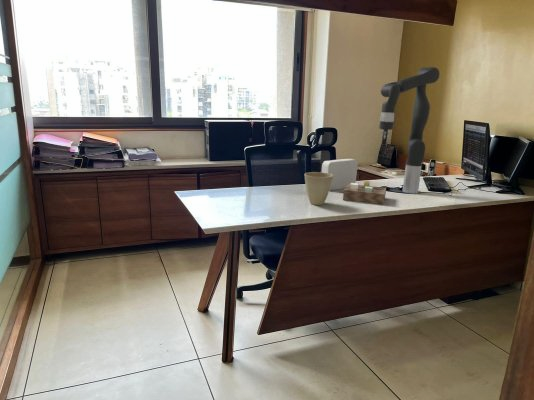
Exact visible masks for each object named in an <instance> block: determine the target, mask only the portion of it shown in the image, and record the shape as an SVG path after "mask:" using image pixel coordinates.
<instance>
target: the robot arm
mask: <svg viewBox="0 0 534 400" xmlns="http://www.w3.org/2000/svg"><path fill="white" fill-rule="evenodd" d="M439 77H440V70H439V69H438V68H437V67H435V66H429V67H421V68H420V69H419V70H418V71H417V74H416V75H412V76H407V77H404V78H402V79H399V80H396V81H393V82H388V83H385V84H384V85H382V87H381V88H380V95H382V97H384V98H388V99H387V100H386V101H383V103H382V105H381V113H380V116H379V117H380V120H379V126H378V127H379V129H380V130H383V132H381V152H386V151H387V145H388V141H389V136H390V132H389V130H394V124H395V123H394V122H395V111H396V105H397V102H398V99H399V97H400V94H401V93H405V92H407V91H410V90H412V89H415V99H414V104H413V109H412V110H413V111H412V118H411V127H410V128H411V129H410V133H409V137H408V141H407V145H406V146H407V147H406V148H407V150H408V154H407V155H408V156H407V159H406V161H405V169H404V170H405V171H404V177H403V185H402V192H403V193H406V194H415V195H416V194H417V195H418V194H419V188H420V181H421V173H422V172H421V171H422V167H423V166H422V165H423V162H424V159H425V152H426V144H425V142H424V141H423V137H424V130H425V128H426V125H427V123H428V120H429V115H430V111H431V105H430V101H429V99H428V96H427V93H426V91H427V85H428V84H435V83H436V82H437V81H438V80H439Z"/></svg>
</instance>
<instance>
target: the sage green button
mask: <svg viewBox="0 0 534 400" xmlns="http://www.w3.org/2000/svg"><path fill="white" fill-rule="evenodd" d="M373 187H374V186H373ZM373 187H367V186H365V190H364V191H367V192H372V189H373Z"/></svg>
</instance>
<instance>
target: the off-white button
mask: <svg viewBox="0 0 534 400" xmlns="http://www.w3.org/2000/svg"><path fill="white" fill-rule="evenodd" d="M358 185H359V183H357V182H356V183H351V184H350V190H358Z"/></svg>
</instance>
